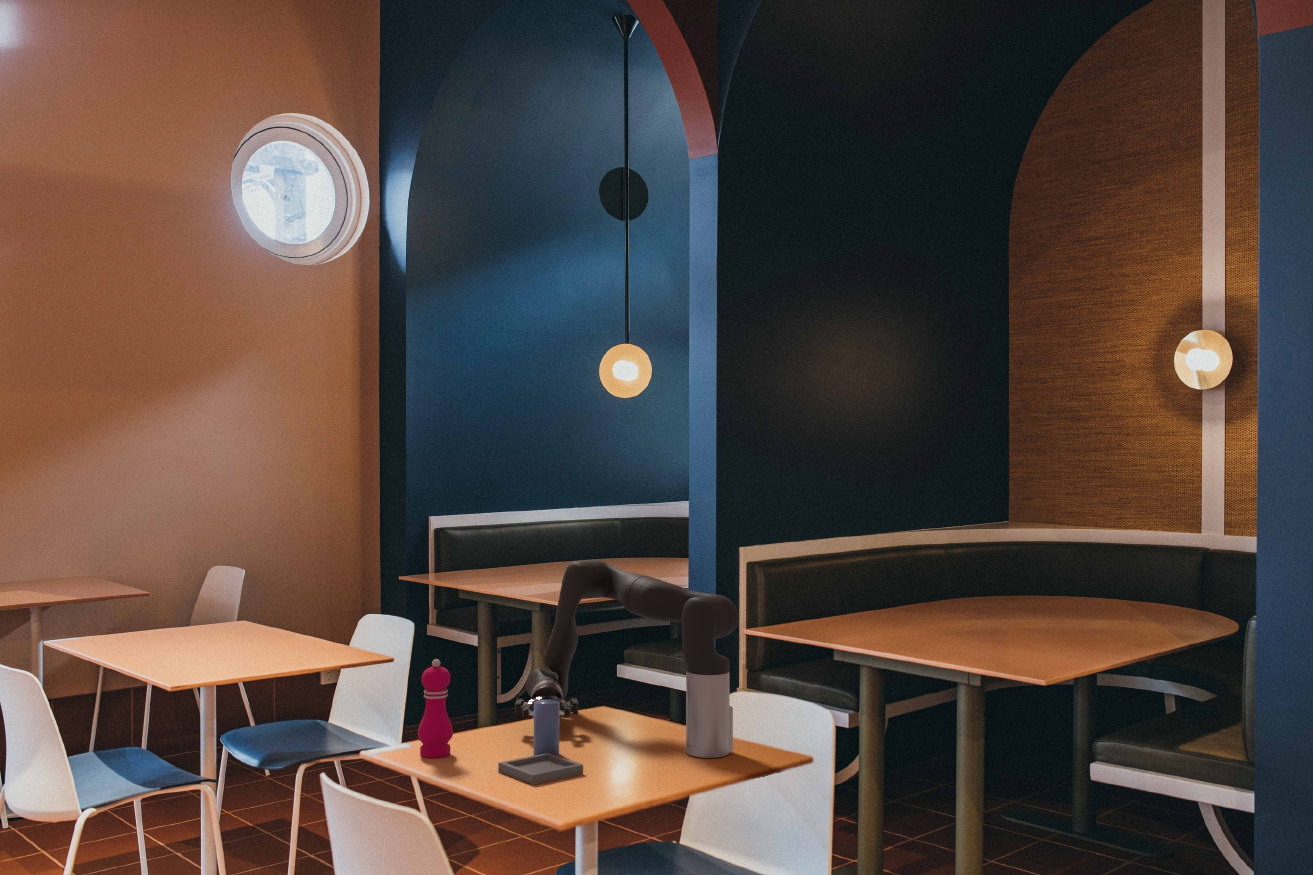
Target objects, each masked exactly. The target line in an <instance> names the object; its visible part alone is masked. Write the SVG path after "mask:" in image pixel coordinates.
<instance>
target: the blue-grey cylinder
mask: <svg viewBox="0 0 1313 875" xmlns="http://www.w3.org/2000/svg"><path fill="white" fill-rule="evenodd" d="M559 706H560V702H559V701H557V700H538V701H535V702H534V716H533V756H535V755H540V754H545V753H550V754H553V755H556V756H560V715H559Z"/></svg>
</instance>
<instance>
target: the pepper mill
mask: <svg viewBox="0 0 1313 875" xmlns="http://www.w3.org/2000/svg"><path fill="white" fill-rule="evenodd" d="M450 683H451V674H450V672H449V670H448V669H447V668H445V667H443V666H441V661H440V659H438V658H435V659H433V660H432V662H431V666H429V667H427V669H425V670H424V671H423V673H422V674H421V684H422V687H424V690H423V693H424V694H423V698H425V709H424V713H423V717H422V718H421V721H420V724H419V727H418V730H417V738H418V740H419V742H421V744H422V745H421V746H420V748H419V755H420V757H421V758H426V759H440V758H445V757H448V756H449V755H450V754H451V745H450V743H449V742H450V741H451V739H452V738H453V734H454V733H453V731H454V730H453V726H452V723H451V720H450V718H449V716H448V712H447V706H446V700H447V697H448V696H449V694H448V692H449V690H448V689H447V687H448V686H449V685H450Z"/></svg>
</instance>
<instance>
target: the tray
mask: <svg viewBox="0 0 1313 875" xmlns="http://www.w3.org/2000/svg"><path fill="white" fill-rule="evenodd" d="M497 768H498V773H500V774H503V775H506V776H508V777H510V778H514V779H516V780H518V781H521V782H524V783H527V784H529V785H531V786H535V785H537V784H538V785H539V784H543V783H548V782H553V781H558V780H560V779H566V778H571V777H575V776H580V775H584V764H582V763H579V762H576V761H574V760H571V759H567V758H564V757H562V756H560V755H558V756H556V755H553V754H550V753H545V754H540V755H535V756H534V755H531V756H526V757H521V758H515V759H511V760H505V761H500V762H498V767H497Z"/></svg>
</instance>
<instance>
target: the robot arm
mask: <svg viewBox="0 0 1313 875" xmlns="http://www.w3.org/2000/svg"><path fill="white" fill-rule="evenodd" d="M602 598H603V599H611V600H615V601H619V602H620V603H621V605H622V607H624V608H625V609H626V610H627V612H629V613H631V614H633V615H635V616H639V617H642V618H645V619H648V620H652V621H659V622H671V623H674V622H675V623H681V642H682V656H683V659H684V661H685V665H686V666H685V674H686V675H685V676H686V677H685V682H686V683H685V685H686V686H685V690H686V691H685V692H686V693H685V694H686V695H685V698H686V699H685V703H686V705H685V706H686V707H685V709H686V710H685V712H686V713H685V720H686V721H685V722H686V724H685V745H686V746H685V747H686V749H685V753H686V755H689V756H692V757H696V758H702V759H705V758H707V759H713V758H721V757H726V756H728V755H730V753H733V751H734V743H733V741H734V738H733V737H734V708H733V706H731V705H730V660H729V658H728V657H727V656H724V655H723V654H720V653H718V652H717V651H716V649H715V647H716V646H715V639H723V638H725V637H728V636H730V635H731V634H732V633H734V631H735V630H736V629H737V628H738V625H739V622H740V613H739V611H738V609H737V607H736V605H735V603H734V602H733V601H732V600H731V599H730V598H728V597H727V596H725V595H721V594H712V593H706V592H701V591H695V590H691V589H688V588H685V587H683V586H680V585H677V584H675V583H674V584H673V583H671V582H667V581H664V580H661V579H659V578H656V577H652V576H648V575H645V574H642V573H641V574H640V573H636V572H630V571H625V570H623V569H620V568H618V567H616V566H614V565H612V564H611V563H610V564H609V563H608V562H605V561H602V560H598V559H594V560H577V561H573V562H572V561H571V562H570V563H569V564H568V566H567V567H566V568H565V571H564V574H563V577H562V581H561V587H560V590H559V596H558V601H557V607H556V612H555V613H556V614H555V619H554V624H553V628H552V631H551V634H550V637H549V639H548V642H547V644H546V648H545V650H544V654H543V656H542V661H543V664H544V666H546V667H547V669H550V670H547V669H545V668H542V667H536V668H534V669H532V670H531V671H530V672H529V673H528V676H527V678H526V681H525V688H526V692H527V694H528V697H529V696H530V700H528V701H525V700H524V699H523V698H517V699H516V701H515V704H514V715H515V716H521V715H522V717H525V719H529V718H530V716H532V717H534V702H535V701H538V700H557V701H559V702H560V706H559V716H563V718H564V719H568V717H570V716H571V713H572V714H573V715H574V716H575V715H578V714H579V701H578V699H577V698H576V697H572V698H571V699H569V701H566V700H565V698H566V696H567V694H568V689H569V672H570V666H571V663H572V661H573V658H574V655H575V652H576V650H577V646H578V644H579V643H578V642H579V631H578V628H577V626H578V625H577V622H576V611H577V608H578V606H579V604H580V602H581V601H582V600H587V599H602Z"/></svg>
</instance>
